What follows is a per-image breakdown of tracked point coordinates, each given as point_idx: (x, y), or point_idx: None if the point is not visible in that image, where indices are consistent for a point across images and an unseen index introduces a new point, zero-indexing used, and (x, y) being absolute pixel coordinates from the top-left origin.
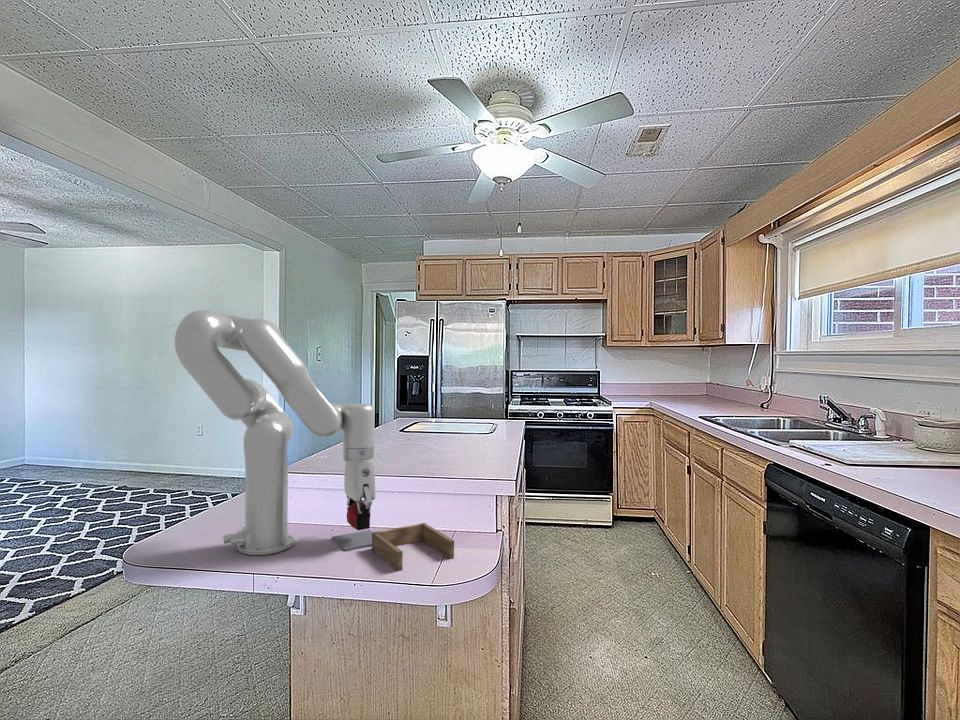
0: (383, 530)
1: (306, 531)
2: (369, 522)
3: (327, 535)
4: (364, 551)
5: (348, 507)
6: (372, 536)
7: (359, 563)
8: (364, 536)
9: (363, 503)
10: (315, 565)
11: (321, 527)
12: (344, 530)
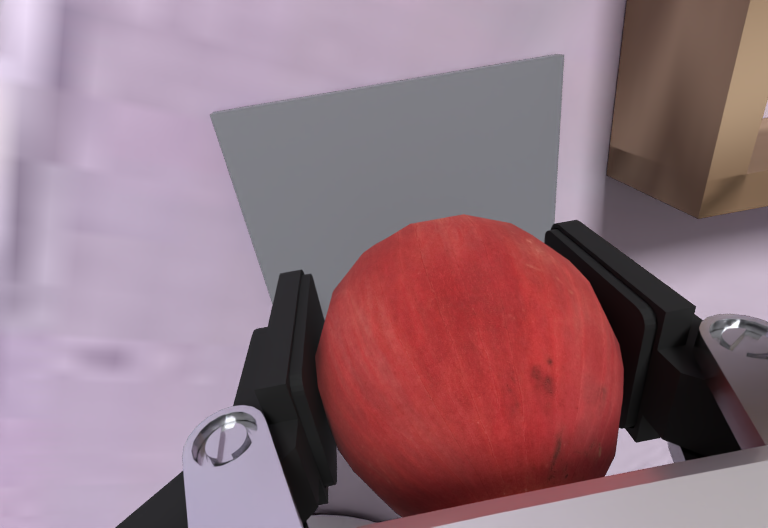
0: (727, 98)
1: (120, 475)
2: (604, 243)
3: (225, 388)
4: (610, 227)
5: (326, 498)
6: (678, 204)
7: (747, 278)
8: (372, 188)
9: (575, 446)
10: (625, 437)
11: (40, 412)
12: (133, 290)
